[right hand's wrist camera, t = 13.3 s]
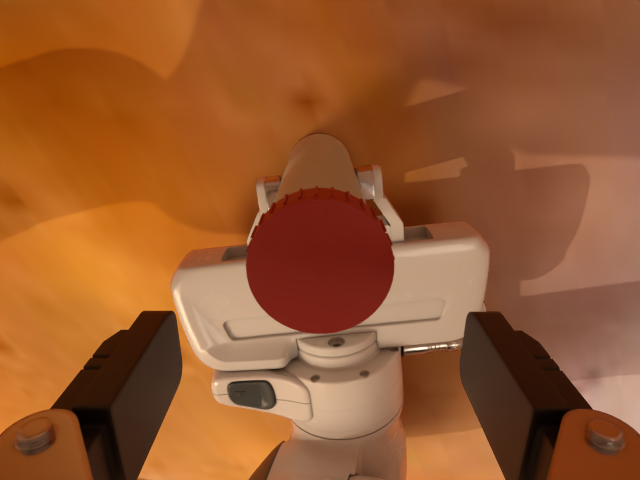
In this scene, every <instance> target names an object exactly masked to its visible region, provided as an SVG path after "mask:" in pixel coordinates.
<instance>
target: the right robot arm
mask: <svg viewBox="0 0 640 480" xmlns="http://www.w3.org/2000/svg"><path fill="white" fill-rule="evenodd" d="M181 375H182V355H181V348H180V341H179V334H178V326H177V320H176V315H175V313H174V312H173V311H143V312H141V314H140V315H139V316H138V318H137V319H136V320H135V322H134V323H133V324H132V326H131V327H130V328H129V330H120V331H119V332H117V333H116V334H114V335H113V336H111V337H110V338H108V339H107V340H105V341H104V342H103V343H102V344H101V346H100V347H99V348H98V349H97V351H96V352H95V353H94V354H93V358H90V359H89V361H88V362H87V363H86V364H85V366H84V369H83V370H81V371H80V372H79V373H78V374H77V376H76V377H75V378H74V380H73V381H72V382H71V383H70V385H69V386H68V387H67V388H66V390H65V391H64V392H63V393H62V395H61V396H60V397H59V398H58V400H57V401H56V402H55V403H54V405H53V406H52V407H51V408H50V409H48V410H43V411H39V412H36V413H33V414H31V415H28V416H26V417H24V418H22V419H20V420H18V421H17V422H15V423H14V424H12V425H11V426H9V427H8V428H7V429H6V430H5V431H4V432H2V433H1V434H0V480H137V478H138V476H139V473H140V471H141V469H142V467H143V465H144V462H145V460H146V458H147V456H148V453H149V451H150V449H151V447H152V444H153V442H154V440H155V438H156V435H157V433H158V431H159V429H160V426H161V424H162V422H163V420H164V418H165V415H166V413H167V411H168V409H169V406H170V404H171V402H172V400H173V397H174V395H175V393H176V391H177V388H178V386H179V384H180V380H181ZM460 375H461V380H462V384H463V386H464V389H465V391H466V393H467V395H468V398H469V400H470V402H471V404H472V406H473V409H474V411H475V413H476V415H477V417H478V420H479V422H480V424H481V426H482V428H483V431H484V433H485V435H486V437H487V440H488V442H489V444H490V446H491V448H492V451H493V453H494V455H495V457H496V459H497V462H498V464H499V466H500V468H501V470H502V473H503V475H504V477H505V479H506V480H640V434H639V433H638V432H636V431H635V430H634V429H633V428H632V427H631V426H629V425H628V424H626V423H625V422H623V421H622V420H620V419H618V418H616V417H614V416H612V415H609V414H607V413H604V412H601V411H597V410H593V409H592V408H591V406H590V405H589V404H588V403H587V401H586V400H585V399H584V398H583V396H582V395H581V394H580V393H579V392H578V390H577V389H576V388H575V387H574V385H573V384H572V383H571V382H570V380H569V379H568V378H567V377H566V375H565V374H564V373H563V372H562V371H560V369H559V367H558V365H557V364H556V363H555V362H554V360H553V359H550V355H549V354H548V353H547V352H546V350H545V349H544V348H543V347H542V345H541V344H540V343H539V342H538V341H536V340H535V339H533V338H532V337H530V336H529V335H527V334H526V333H524V332H523V331H514V330H513V328H512V327H511V326H510V324H509V323H508V322H507V320H506V319H505V318H504V316H503V315H502V314H501V313H500V312H469V313H468V314H467V317H466V322H465V329H464V336H463V343H462V350H461V358H460Z"/></svg>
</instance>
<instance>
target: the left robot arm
mask: <svg viewBox="0 0 640 480" xmlns="http://www.w3.org/2000/svg"><path fill="white" fill-rule="evenodd" d="M355 173H356V176H357V179H358V181H359V184H360V187H361V190H362V193H363V196H364V198H365V200H369V199H373V201H374V202H375V204H376V205H377V206H378V208H379V209H380V211H381V212H382V213H383V215H378V218H379V220H381V219H382V221H383V223H384V225H385V227H386V230H387V232H386V233H388V234H389V237H390V239H391V242H392V244H393V246H391V247H392V251H393V254H394V257H395V260H394V264H395V265H394V277H393V282H392V285H391V288H390V291H389V293H388V295H387V297H386V299H385V300H384V302H383V303H382V305H381V306H380V307H379V308H378V309H377V310H376V312H375V313H373V314H372V315H371V316H370V317H369V318H368V319H366V320H365V321H363V322H362V323H360V324H358V325H356V326H354V327H352V328H349V329H347V330H344V331H340V332H336V333H329V334H311V333H305V332H300V331H297V330H294V329H291V328H288V327H286V326H284V325H282V324H280V323H279V322H277V321H275V320H274V319H273V318H272V317H270V316H269V315H268V314H267V313H266V312H265V311H264V310H263V309H262V308H261V307H260V305H259V304H258V303H257V301H256V300H255V298H254V296H253V294H252V292H251V290H250V287H249V284H248V280H247V274H246V259H247V253H248V252H246V251H247V248H248V245H249V243H250V240H251V239H252V238H250V237H251V235H252V232H253V230H254V227H255V225H256V226H258V223H259V220H260V218H261V215H262V214H263V213H264V214H265V213H266V212H267V211H268V210H269V209H270V208H271V205H272V203H273V202H274V201H275V198H276V195H277V192H278V189H279V186H280V183H281V180H282V176H271V177H261V178H258V179H257V181H256V192H257V197H258V203H259V211H258V214H257V216H256V219H255V221H254V224H253V226H252V229H251V231H250V234H249V236H248V239H247V244H244V245H235V246H225V247H216V248H207V249H197V250H192V251H190V252H189V253H188V254H187V255H186V256H185V258H184V259H183V260H182V261H181V262H180V264H179V265H178V267H177V269H176V270H175V272H174V274H173V276H172V279H171V292H172V296H173V300H174V303H175V307H176V310H177V313H178V316H179V319H180V321H181V324H182V327H183V329H184V332H185V334H186V337H187V339H188V341H189V343H190V346H191V348H192V350H193V351H194V353H195V354H196V356H197V357H198V358H199V359H200V360H201V361H202V362H203V363H204V364H205V365H207V366H208V367H210V368H213V369H214V371H213V377H212V384H211V388H212V393H213V396H214V398H215V400H216V401H217V402H219V403H221V404H224V405H229V406H235V407H241V408H247V409H253V410H258V411H263V412H268V413H272V414H276V415H280V416H283V417H286V418H289V419H290V420H291V422H292V432H291V436H290V439H289V440H288V441H286V442H285V441H283V442H281V443H280V444H279V445H278V446H276V448H275V449H274V450H273V451H272V452H271V453H270V454H269V455H268V456H267V458H266V459H265V460H264V461H263V462H262V463H261V465H260V466H259V467H258V468H257V469H256V471H255V472H254V473H253V474H252V476H251V477H250V479H249V480H406V477H407V446H406V434H405V430H404V427H403V424H402V422H401V420H400V415H401V411H402V407H403V399H404V392H403V375H402V360H401V357H403V356H407V355H417V354H425V353H430V352H435V351H439V350H440V351H444V350H446V351H457V350H461V349H462V343H463V336H464V329H465V322H466V317H467V314H468V313H469V312H486V304H485V301H484V297H485V292H486V286H487V280H488V272H489V262H490V249H489V246H488V244H487V243H486V241H485V240H484V238H483V237H482V236H481V235H480V234H479V233H478V232H477V231H476V230H475V229H474V228H472V227H471V226H470V225H469V224H467V223H466V222H464V221H454V222H445V223H436V224H427V225H418V226H408V227H404V226H403V222H402V220H401V218H400V216H399V214H398V213H397V211H396V210H395V208H394V207H393V206H392V204H391V203H390V201H389V200H388V199H387V197H386V196H385V194H384V193H383V183H382V172H381V167H380V166H379V164H374V165H365V166H358V167H355Z"/></svg>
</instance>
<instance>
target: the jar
mask: <svg viewBox="0 0 640 480" xmlns="http://www.w3.org/2000/svg"><path fill="white" fill-rule="evenodd" d="M315 186H318V188H331V187H334V189H336V190H340V191H343V192H346V191H349V193H350V194H351V195H353V196H355V197H357V198H358V199H360V198H362V199H363V201H364V203H365V204H366V201H365V198H364V196H363V193H362V190H361V187H360V184H359V181H358V179H357V176H356V173H355V170H354V167H353V164H352V162H351V159H350V156H349V153H348V151H347V149H346V148H345V146H344V145H343V144H342V143H341V142H340V141H339V140H338V139H336V138H334V137H333V136H330V135H326V134H312V135H309V136H307V137H304V138H303V139H301V140H300V141H299V142H298V143H297V144H296V145H295V146H294V148H293V149H292V151H291V153H290V156H289V159H288V162H287V165H286V168H285V171H284V174H283V177H282V180H281V183H280V186H279V189H278V192H277V195H276V198H275V201H274V202H275V203H276V202H278V201H279V200H281V199H282V198H284V195H285V194H288V195H290V194H292V193H294V192H297V191H299V189H300V188H302V190H304V189H310V188H315Z"/></svg>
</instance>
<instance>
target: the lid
mask: <svg viewBox="0 0 640 480" xmlns="http://www.w3.org/2000/svg"><path fill="white" fill-rule="evenodd" d="M386 232H387V230H386V227H385V225H384V223H383V221H382V219H381V220H379V218H378V216H377V215H376V212H375V210H374V208H370V207H369V206H368V205H367V204H365V203H364V201H363V199H362V198H360V199H358V198H357V197H355V196H353V195H351V194H350V193H349V191H346V192H343V191H340V190H336V189H334V187H331V188H318V186H315V188H310V189H304V190H302V188H300V189H299V191H297V192H294V193H292V194H290V195H288V194H285V195H284V198H282V199H281V200H279V201H278V202H276V203H275V202H273V203H272V205H271V208H270V209H269V210H268V211H267V212H266V213H265V214H264V213H263V214H262V215H261V218H260V220H259V223H258V226H256V225H255V227H254V230H253V232H252V235H251V237H250V238H252V239H251V240H250V243H249V245H248V248H247V251H246V252H248V253H247V259H246V274H247V280H248V284H249V287H250V290H251V292H252V294H253V296H254V298H255V300H256V301H257V303H258V304H259V305H260V307H261V308H262V309H263V310H264V311H265V312H266V313H267V314H268V315H269V316H270V317H272V318H273V319H274V320H275V321H277V322H279V323H280V324H282V325H284V326H286V327H288V328H291V329H294V330H297V331H300V332H305V333H311V334H329V333H336V332H340V331H344V330H347V329H349V328H352V327H354V326H356V325H358V324H360V323H362V322H363V321H365V320H366V319H368V318H369V317H370V316H371V315H372V314H373V313H375V312H376V310H377V309H378V308H379V307H380V306H381V305H382V303H383V302H384V300H385V299H386V297H387V295H388V293H389V291H390V288H391V285H392V282H393V277H394V265H395V264H394V260H395V257H394V254H393V251H392V247H391V246H393V244H392V242H391V239H390V237H389V234H388V233H386Z"/></svg>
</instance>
